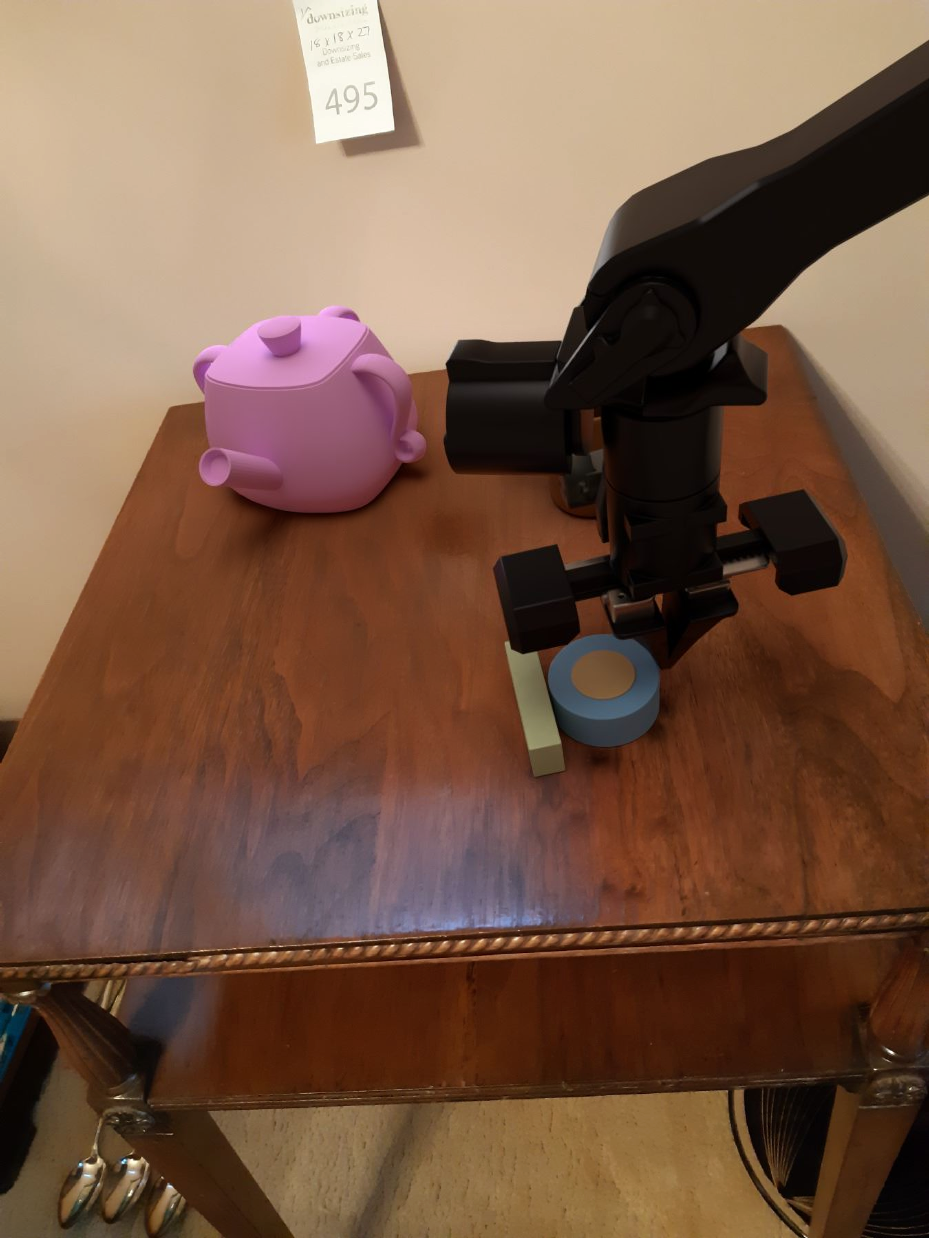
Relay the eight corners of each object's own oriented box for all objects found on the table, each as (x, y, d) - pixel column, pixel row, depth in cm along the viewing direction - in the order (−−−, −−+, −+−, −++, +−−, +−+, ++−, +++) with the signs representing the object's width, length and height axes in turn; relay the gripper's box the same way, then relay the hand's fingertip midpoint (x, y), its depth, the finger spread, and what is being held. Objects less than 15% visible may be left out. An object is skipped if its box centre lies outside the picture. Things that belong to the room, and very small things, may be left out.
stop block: (537, 664, 59) (533, 635, 56) (565, 770, 52) (561, 743, 50) (509, 670, 59) (504, 641, 56) (534, 777, 52) (528, 750, 50)
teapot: (398, 388, 87) (363, 251, 77) (455, 499, 73) (421, 349, 63) (221, 444, 86) (161, 312, 75) (243, 570, 71) (172, 427, 61)
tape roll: (642, 653, 58) (641, 623, 55) (673, 734, 53) (674, 705, 51) (542, 674, 58) (538, 645, 56) (564, 757, 53) (560, 729, 51)
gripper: (781, 348, 47) (760, 550, 59) (460, 421, 48) (499, 608, 59) (874, 460, 40) (829, 669, 51) (489, 546, 40) (528, 733, 52)
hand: (663, 664), depth 53 cm, fingers closed
